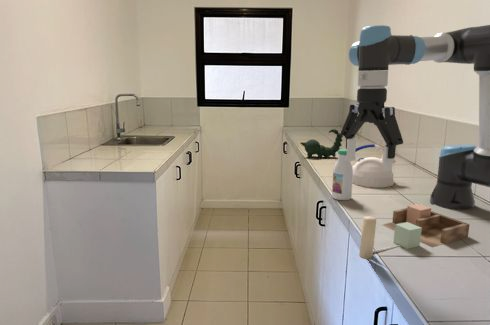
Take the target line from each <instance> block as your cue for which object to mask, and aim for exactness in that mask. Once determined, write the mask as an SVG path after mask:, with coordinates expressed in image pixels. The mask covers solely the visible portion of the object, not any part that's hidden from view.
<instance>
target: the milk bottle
mask: <svg viewBox="0 0 490 325" xmlns="http://www.w3.org/2000/svg"><path fill="white" fill-rule="evenodd" d="M337 155H338V157H337V160H336V162H335V164H334V168H333V172H332V187H331V188H332V190H331V197H332V198H333V199H335V200H338V201H349V200H351V199H352V196H353V195H352V193H353V192H352V191H353V183H352V179H353V169H352V167H353V165H352V163H351V161H346V157H347V149H346V148H340V150H338V151H337Z"/></svg>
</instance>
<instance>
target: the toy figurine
mask: <svg viewBox="0 0 490 325" xmlns="http://www.w3.org/2000/svg"><path fill="white" fill-rule="evenodd" d="M328 133H329V134H330V133H333V134H335V135H336V137H335V138H334V139H335V140H334V142H333V144H332V145H331V147H328V146H324V145H322V144H320V142H319V141H318V140H316V139H309V140H307V141H306V142H300V145H301V146H303V147H304V151H305V152H306V153H307V154H306V155H307V157H308V158H312V157H313V156H314V155H315V156H317V157H318V158H322V157H325V159H329V157H331V156H332V157H336V156H337V155H336V153H338V150H340V149H341V148H340V147H342V142H343V139H342V138H343V137H344V136H342V135H341V132H339V131H338V130H337V129H335V128H333V129H332V128H331V129H330V130H329V131H328Z"/></svg>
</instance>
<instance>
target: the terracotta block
mask: <svg viewBox="0 0 490 325" xmlns="http://www.w3.org/2000/svg"><path fill="white" fill-rule="evenodd" d="M406 208H407V219H406V222H409V223H411V224H414V225H415V224H416V219H421V218H425V217H429V216H430V215H431V211H432V207H430V206H427V205H423V204H421V203H415V204H410V205H407V207H406Z"/></svg>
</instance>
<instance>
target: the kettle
mask: <svg viewBox="0 0 490 325" xmlns="http://www.w3.org/2000/svg"><path fill="white" fill-rule="evenodd" d="M368 148H377V149H379V150H380V152H381V158H378V157H374V156H371V157H370V156H369V157H368V156H367V157H365V158H364V157H360V158H358V160H357V162H356V163H355V164H353V165H352V169H353V179H352V185H356V186H360V187H365V188H377V189H378V188H388V187H391V186H393V185H394V172H393V169H392V170H388V171H383V156H384V147H382V146H381V145H379V144H365V145H364V144H363V145H361V146H358V147H356V151H355V153H357V152H358V151H360V150H364V149H368ZM395 163H397V160H396V159H395V158H393V164H395Z"/></svg>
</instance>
